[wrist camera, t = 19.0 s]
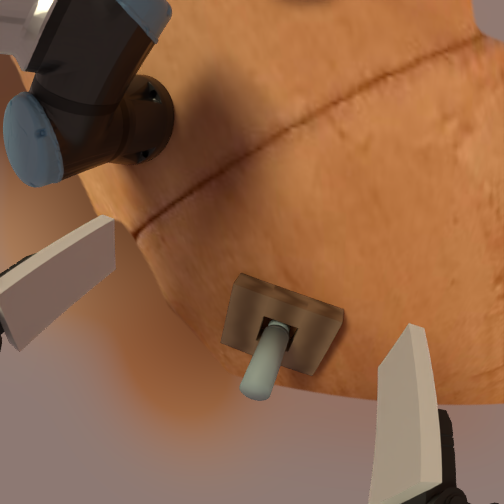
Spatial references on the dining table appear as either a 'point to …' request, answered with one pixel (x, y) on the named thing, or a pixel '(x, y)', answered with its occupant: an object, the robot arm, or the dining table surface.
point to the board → (283, 310)
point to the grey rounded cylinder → (266, 362)
